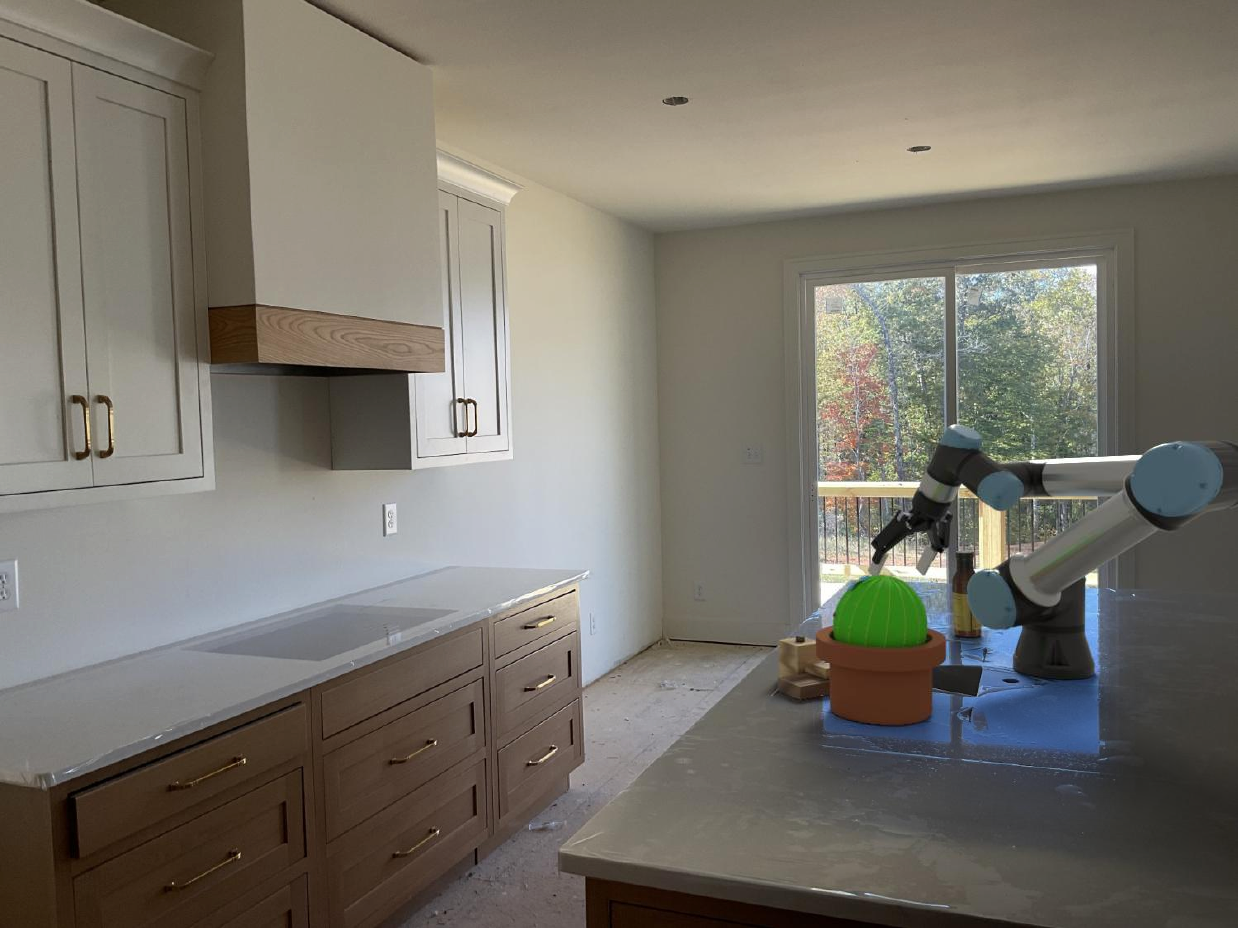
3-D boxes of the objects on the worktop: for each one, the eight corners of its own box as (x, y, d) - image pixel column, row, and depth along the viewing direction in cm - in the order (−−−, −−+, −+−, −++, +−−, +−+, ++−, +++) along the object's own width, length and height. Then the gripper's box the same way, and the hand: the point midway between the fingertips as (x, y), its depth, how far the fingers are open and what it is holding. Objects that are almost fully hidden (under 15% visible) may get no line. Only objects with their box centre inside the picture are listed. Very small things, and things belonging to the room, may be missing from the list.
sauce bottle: (977, 632, 230) (977, 549, 229) (985, 638, 224) (984, 552, 223) (949, 632, 231) (949, 549, 230) (956, 638, 225) (955, 553, 224)
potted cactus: (957, 702, 175) (957, 565, 174) (929, 738, 157) (928, 585, 155) (839, 687, 187) (838, 558, 185) (799, 719, 168) (797, 576, 166)
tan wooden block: (844, 690, 185) (843, 643, 184) (818, 695, 182) (818, 647, 182) (803, 675, 196) (803, 631, 195) (779, 679, 193) (778, 635, 193)
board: (891, 682, 189) (891, 669, 189) (800, 700, 179) (800, 686, 179) (867, 674, 195) (866, 662, 195) (777, 690, 185) (777, 677, 185)
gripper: (968, 483, 211) (929, 560, 222) (878, 483, 200) (842, 564, 211) (990, 503, 206) (949, 581, 216) (900, 504, 195) (861, 586, 205)
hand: (896, 573), depth 213 cm, fingers open, 13 cm apart
